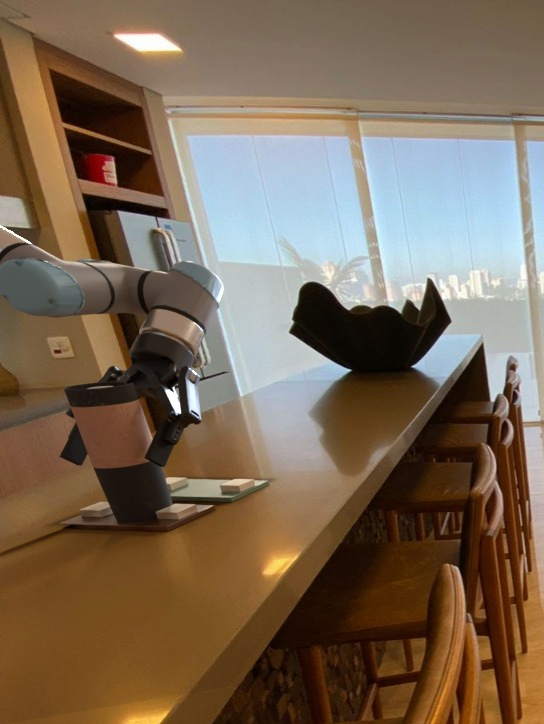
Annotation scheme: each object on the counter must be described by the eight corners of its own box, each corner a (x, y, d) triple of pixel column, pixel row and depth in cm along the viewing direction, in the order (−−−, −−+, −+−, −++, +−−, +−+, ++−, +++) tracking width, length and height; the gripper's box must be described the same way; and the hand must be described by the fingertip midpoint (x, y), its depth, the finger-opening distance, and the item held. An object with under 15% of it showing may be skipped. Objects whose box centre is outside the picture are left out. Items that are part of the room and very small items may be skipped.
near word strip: (59, 528, 85) (53, 516, 85) (115, 506, 94) (111, 495, 93) (168, 531, 84) (163, 519, 83) (215, 509, 92) (212, 498, 91)
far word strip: (135, 499, 97) (131, 488, 96) (179, 482, 105) (176, 472, 104) (232, 502, 95) (228, 490, 95) (269, 484, 104) (266, 474, 103)
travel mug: (102, 526, 84) (48, 391, 76) (129, 508, 91) (82, 382, 83) (163, 520, 86) (116, 387, 78) (185, 503, 93) (144, 379, 85)
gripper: (255, 361, 94) (210, 474, 85) (118, 361, 96) (61, 472, 88) (221, 329, 87) (168, 450, 79) (74, 331, 89) (8, 448, 81)
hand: (112, 462), depth 83 cm, fingers open, 13 cm apart
